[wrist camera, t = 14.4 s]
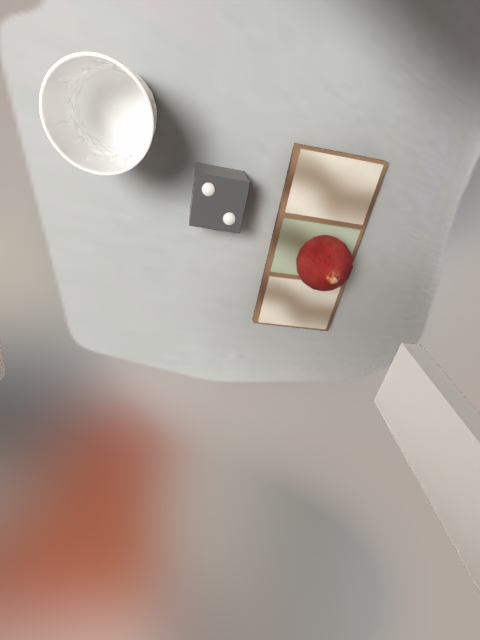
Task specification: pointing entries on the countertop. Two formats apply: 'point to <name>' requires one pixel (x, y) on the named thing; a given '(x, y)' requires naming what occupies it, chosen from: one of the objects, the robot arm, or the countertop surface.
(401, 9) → the countertop surface
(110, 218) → the countertop surface
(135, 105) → the white cup
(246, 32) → the countertop surface
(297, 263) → the onion
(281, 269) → the board
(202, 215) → the die
